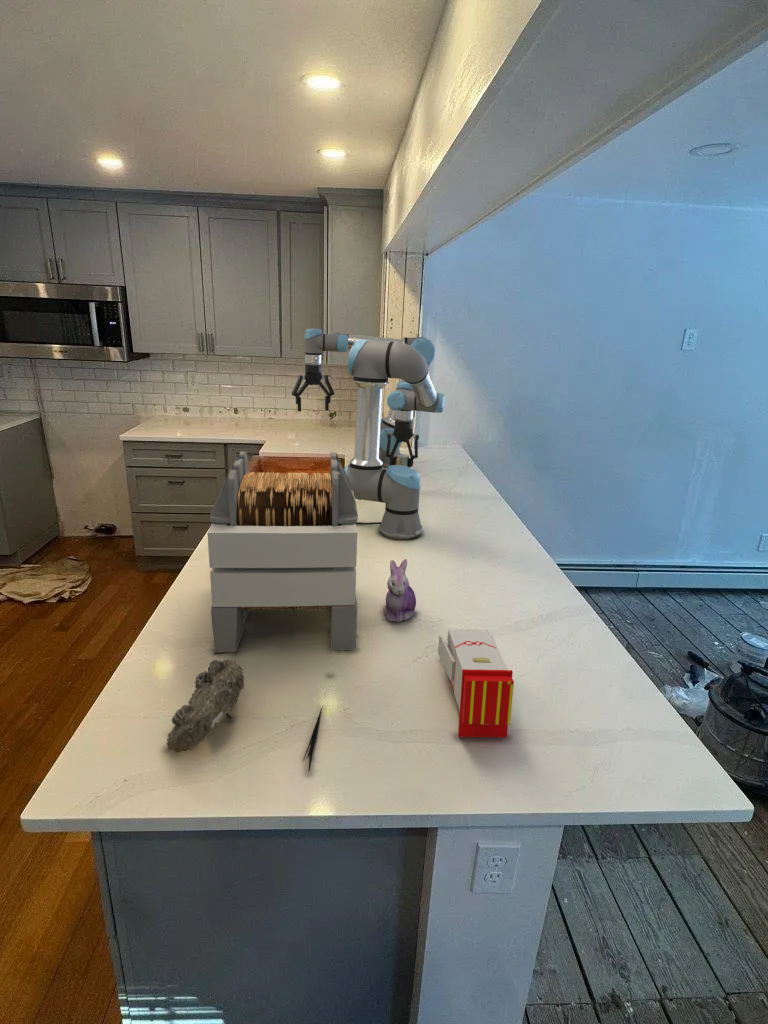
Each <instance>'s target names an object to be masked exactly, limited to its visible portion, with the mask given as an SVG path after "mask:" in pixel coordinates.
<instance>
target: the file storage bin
mask: <svg viewBox="0 0 768 1024" xmlns="http://www.w3.org/2000/svg"><path fill="white" fill-rule="evenodd" d="M329 465H330V466H329V467H330V469H329V470H330V472H324V473H321V472H313V474H309V473H308V472H286V473H285V472H284V473H283V472H274V471H273V472H269V471H266V472H264V471H263V472H260V471H259V472H258V471H257V472H255V471H249V459H248V451H242V450H240V451H239V453H238V455H237V457H236V458H235V460H234V463H233V465H232V467H231V468H230V469H229V471H228V473H227V475H226V477H225V480H224V482H223V484H222V487H221V489H220V491H219V493H218V496H217V498H216V500H215V502H214V504H213V507H212V508H211V511H210V514H209V519H210V523H211V525H210V527H209V529H208V531H207V532H206V534H207V548H208V562H209V563H208V565H209V569H211V570H210V573H209V575H210V576H209V577H210V590H211V591H210V592H211V593H210V594H211V606H210V617H211V633H212V637H213V638H212V639H213V649H212V652H213V653H214V654H215V653H216V654H220V653H236V652H237V649H238V647H239V645H240V642H241V639H242V637H243V635H244V632H245V625H246V624H245V621H247V619H248V615H249V611H268V610H270V611H273V610H274V611H275V610H277V611H278V610H279V611H280V610H284V611H286V610H290V611H291V610H294V611H295V610H325V609H326V610H329V619H330V621H329V622H330V623H329V625H330V626H329V627H330V628H329V629H330V650H331V651H351V652H353V651H354V650H355V649H357V638H358V635H357V631H358V602H357V601H358V600H357V593H356V590H357V589H356V588H357V569H356V568H357V555H358V553H357V551H358V529H357V524H356V522H358V519H359V513H358V507H357V502H356V499H355V497H354V490H353V488H352V486H351V484H350V482H349V480H348V477H347V475H346V473H345V471H344V469H345V468H344V466H343V464H342V461H341V460H340V458H339V456H338V453H337V452H333V451H330V463H329Z"/></svg>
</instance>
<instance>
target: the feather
mask: <svg viewBox="0 0 768 1024" xmlns="http://www.w3.org/2000/svg"><path fill="white" fill-rule="evenodd" d="M329 675H330V676H331V675H332V674H331V673H330V674H329ZM322 710H323V707H321V708H320V710H319V713H318V716H317V719H316V723H315V725H314V728H313V731H312V733H311V737H310V739H309V742H308V745H307V748H306V751H305V754H304V757H303V760H302V763H301V767H302V765H303V763H304V761H305V758H308V759H309V760H308V762H307V763H308V764H307V766H308V771H310V770H311V766H312V765H311V764H312V760H313V757H315V756H314V755H315V751H316V749H315V746H317V739H318V733H319V729H320V722H321V717H322V712H323V711H322ZM313 754H314V755H313ZM306 755H307V757H306Z"/></svg>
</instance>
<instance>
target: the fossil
mask: <svg viewBox="0 0 768 1024" xmlns="http://www.w3.org/2000/svg"><path fill="white" fill-rule="evenodd" d="M243 670H244V669H243V667H242V665H240V664H237V662H236V661H235V660H234V659H232V658H231V659H227V658H226V659H224V660H223V661H222V660H217V659H212V660H211V661H210V663H209V665H208V666H207V671H201V672H199V673H198V674H197V675H196V676H195V680H194V684H195V685H194V687H195V689H194V690H193V693H192V694H191V697H190V698H189V700H188V704H184V705H182V706H181V707H180V709H177V710H176V711H175V713H174V715H173V716H172V718H171V723H172V724H173V727H172V730H171V731H170V732H168V734H167V738H166V741H167V742H166V745H167V749H168V750H169V751H173V752H174V753H176V754H178V753H182V752H188V751H189V752H192V751H193V750H195V748H196V747H197V746H199V744H200V743H201V742H203V741H204V740H205V739H206V738H207V737H208V736H209V735H210V734H211V733H212V732H214V730H215V729H217V727H218V726H219V724H220V722H221V721H222V720H223V719H224V718H225V716H226V717H227V719H229V720H233V717H232V715H230V714H229V710H230V709H231V708H234V706H235V704H236V703H237V702H238V699H239V697H240V695H241V693H242V691H243V690H245V689H244V688H245V675H244V671H243Z"/></svg>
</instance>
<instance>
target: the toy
mask: <svg viewBox="0 0 768 1024" xmlns="http://www.w3.org/2000/svg"><path fill="white" fill-rule="evenodd" d="M446 640H447V643H446V641H445V639H444V636H443V635H442V634H439V637H438V646H437V656H438V657H439V659H440V661H441V663H442V666H443V668H444V670H445V672H446V674H447V677H448V679H449V681H450V684H451V687H452V690H453V693H454V697H455V701H456V705H457V708H458V711H459V714H458V715H459V716H458V730H457V731H458V732H457V737H458V738H508V731H509V726H510V725H511V717H512V707H513V697H514V696H513V695H514V684H515V680H514V679H513V673H514V671H513V670H512V669H508V667H507V665H506V662H505V661H504V659H503V658H502V655H501V653H500V651H499V649H498V647H497V643H496V639H495V637H494V635H493V634H491V632H490V631H489V629H467V628H466V629H465V628H463V629H461V628H460V629H459V628H448V630H447V639H446Z"/></svg>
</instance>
